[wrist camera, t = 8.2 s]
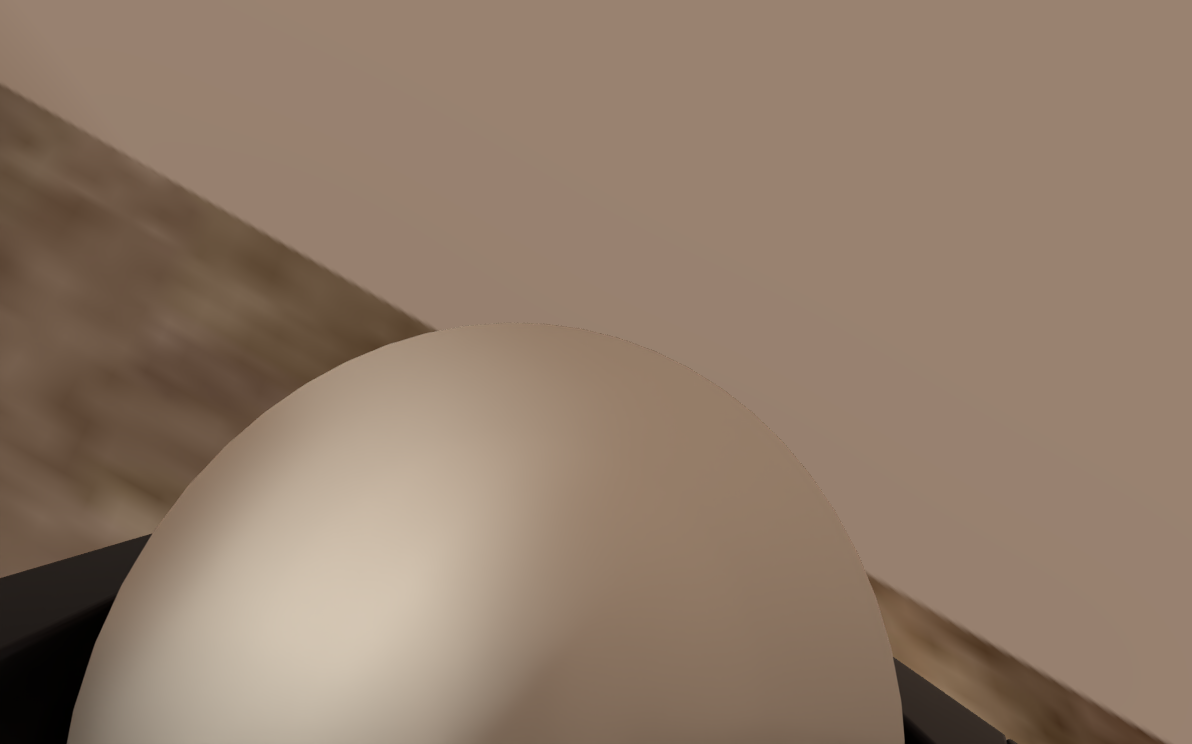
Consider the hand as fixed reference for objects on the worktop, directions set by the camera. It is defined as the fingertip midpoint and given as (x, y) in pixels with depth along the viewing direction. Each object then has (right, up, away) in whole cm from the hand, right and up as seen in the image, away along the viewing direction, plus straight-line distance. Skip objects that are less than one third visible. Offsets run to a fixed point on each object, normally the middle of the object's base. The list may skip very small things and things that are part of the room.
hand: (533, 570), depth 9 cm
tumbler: (-1, -4, +5) cm, 7 cm away
